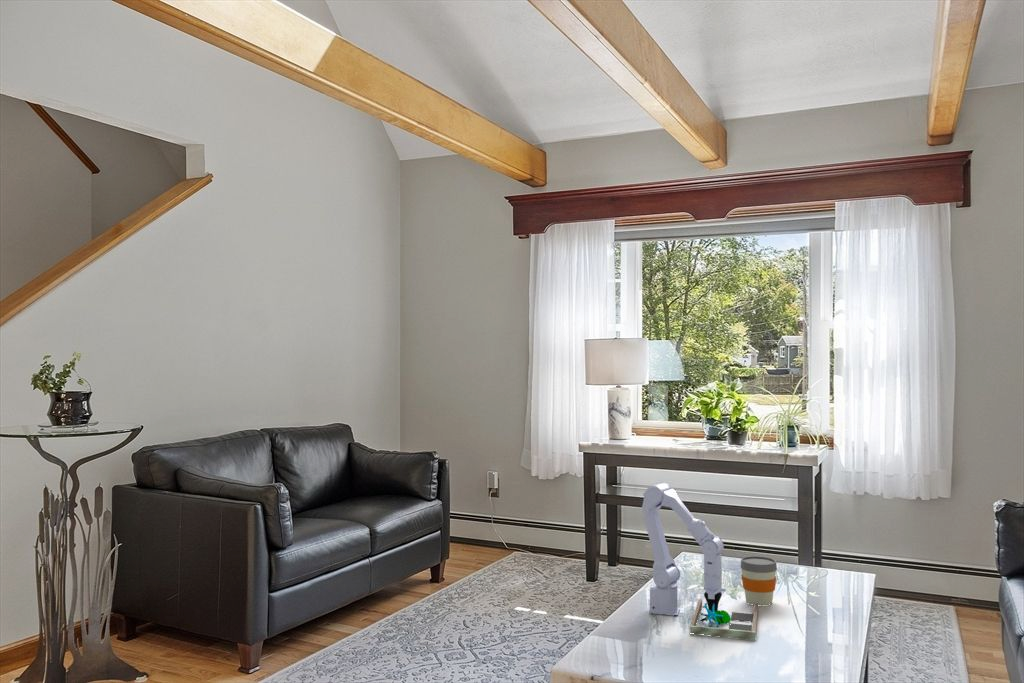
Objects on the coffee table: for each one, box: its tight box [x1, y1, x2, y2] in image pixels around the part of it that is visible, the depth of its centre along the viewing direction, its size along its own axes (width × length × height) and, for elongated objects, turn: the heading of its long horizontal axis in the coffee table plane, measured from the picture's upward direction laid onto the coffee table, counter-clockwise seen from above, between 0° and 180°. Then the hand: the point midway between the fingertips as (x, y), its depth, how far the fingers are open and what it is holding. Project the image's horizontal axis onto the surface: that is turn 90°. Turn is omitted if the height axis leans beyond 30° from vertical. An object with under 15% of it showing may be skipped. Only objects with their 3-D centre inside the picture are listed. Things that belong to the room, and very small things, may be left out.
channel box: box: [689, 598, 759, 641], centre depth 275 cm, size 20×30×2 cm, turn 162°
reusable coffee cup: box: [740, 555, 778, 607], centre depth 296 cm, size 12×13×15 cm
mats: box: [728, 612, 754, 631], centre depth 274 cm, size 7×20×1 cm, turn 162°
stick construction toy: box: [699, 602, 732, 628], centre depth 274 cm, size 12×7×8 cm
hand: (713, 614), depth 277 cm, fingers closed
